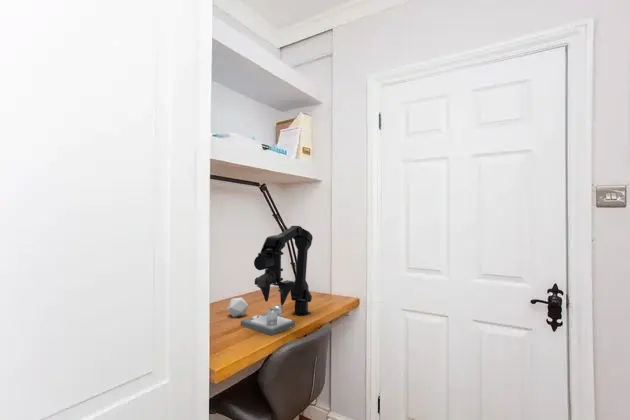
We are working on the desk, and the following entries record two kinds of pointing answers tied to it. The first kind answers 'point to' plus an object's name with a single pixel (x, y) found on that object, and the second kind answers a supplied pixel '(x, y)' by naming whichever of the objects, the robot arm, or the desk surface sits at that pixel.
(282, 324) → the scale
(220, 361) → the desk surface
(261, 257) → the robot arm
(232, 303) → the die
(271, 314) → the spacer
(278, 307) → the spacer
